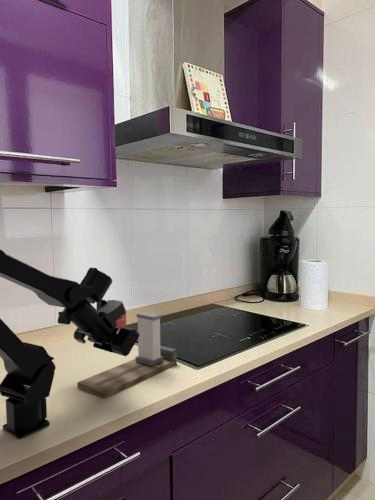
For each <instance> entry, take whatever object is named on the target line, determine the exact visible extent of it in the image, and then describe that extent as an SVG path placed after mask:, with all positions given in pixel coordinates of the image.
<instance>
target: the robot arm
mask: <svg viewBox="0 0 375 500" xmlns="http://www.w3.org/2000/svg"><path fill="white" fill-rule="evenodd" d="M0 278H2V279H5V280H7V281H9V282H11V283H14V284H15V285H19V286H21V287H23V288H25V289H28V290H29V291H31V292H33V293H34V294H35V295H36V296H37V297H38V298H39V300H41V301H43V302H44V303H45V304H47V305H49V306H51V307H52V306H53V307H60V308H63V310H62V311H58V318H57V323H58V324H60V325H70V324H73V325H74V326H76V327H77V328H76V330H75V331H74V332H73V339H74V340H75V341H76V342H78V343H80V344H84V345H85V344H86V342H87V341H89V342H91V343H93V345H92V346H93V348H96V349H99V350H102V351H105V352H109V353H113V354H117V355H120V356H123V357H127V356H129V354H130V353H131V351H132V349H133V347H134V346H135V344H136V343H137V342H138V338H139V336H140V335H139V333H138V329H136V328H133V327H129V326H126V327H122V328H121V329H119V328H115V327H116V325H117V323H116V322H115V321H117V320H118V319H119V318H120V317H121V316H123V315H125V314H126V315H127V310H125V309H126V308H125V304H124V302H123V301H122V300H117V299H108V300H105V299H103V298H104V297H105V295H106V293H107V292H108V290H109V289H110V287H111V285H112V283H113V279H112V277H111V276H110V275H107V274H106V273H105V272H103V271H100V270H98V268H97V267H89V268H88V270H87V271H86V274H85V275H84V277H83V279H82V280H81V281H80V283H79V282H77V281H74V280H71V279H66V278H63V277H58V276H52V275H50V274H48V273H45V272H43V271H42V270H40V269H37V268H35V267H34V266H32V265H29V264H28V263H26V262H24V261H21V260H19V259H18V258H16V257H13V256H11V255H10V254H7V253H6V252H4V251H3V249H1V248H0ZM95 303H96V307H95V306H94V304H95ZM92 304H93V305H92ZM123 304H124V305H123ZM86 336H87V338H86V339H87V340H86V339H85V337H86ZM0 358H1V360H2V361H3V366H4V369H5V371H6V372H7V373H6V374H5V377H3V380H2V381H1V382H0V396H1V397H6V398H5V413H6V414H5V415H6V417H5V418H6V423H5V424H3V425H2V429H4V430H5V431H6V432H7V433H10V434H11V435H13V436H14V437H16V439H22V438H24V437H26V436H29V435H30V434H33V433H35V432H36V431H39V430H41V429H43V428H45V427H48V426H49V425H50V421H49V420H48V419H47V418H48V417H47V416H48V409H47V398H49V396H50V394H51V389H52V386H53V383H54V381H53V380H54V377H55V370H56V368H57V367H56V364H55V362H54V361H53V360H55V358H54V356H51V355H50V354H49V353H48V352H47V350H46V349H45V347H44V346H42V345H38V344H33V343H30V342H25V341H22V340H21V338H20V337H19V336H18V335H17V334H16V333H15V332H14V331H13V330H12V329H11V328H10V327H9V326H8V325H7V324H6V323H5V322H4V320H2V319H1V318H0Z"/></svg>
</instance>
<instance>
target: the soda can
mask: <svg viewBox="0 0 375 500" xmlns="http://www.w3.org/2000/svg"><path fill="white" fill-rule="evenodd" d="M123 305H124V306H125V304H124V303H123ZM125 310H126V308H125ZM126 311H127V310H126ZM115 322H116V323H117V325H116V327H115V328H119V329H121V328H122V327H127V313H126V314H125V315H123V316H121V317H120V318H119V319H118V320H117V321H115Z"/></svg>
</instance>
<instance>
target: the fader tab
mask: <svg viewBox="0 0 375 500" xmlns="http://www.w3.org/2000/svg"><path fill="white" fill-rule="evenodd" d="M136 318H137V332H138V333H139V335H140V336H139V338H138V339H137V343H138V344H137V348H138V349H137V350H138V351H137V352H138V354H137V356H135V358H134V359H135V361H136V362H139V363H142V364H146V365H149V366H153V365H155V364H157V363H159V362H162V361H163V356H160V345H161V318H162V315H161V314H158V313H153V312H148V311H142V312H138V313H136Z"/></svg>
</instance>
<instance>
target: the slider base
mask: <svg viewBox="0 0 375 500" xmlns="http://www.w3.org/2000/svg"><path fill="white" fill-rule="evenodd" d="M177 355H178V354H177V349H176V348H173V347H168V346H164V345H161V344H160V356H163V361H162V362H159V363H157V364H155V365H153V366H149V365H146V364H142V363H139V362H136V361H135V358H133V359H131V360H129V361H127V362H124V363H122V364H119V365H116V366H114V367H112V368H110V369H106V370H104V371H102V372H99V373H97V374H94V375H92V376H90V377H87V378H85V379H82V380H80V381H77V388H79V389H81V390H83V391H85V392H89V393H91V394H93V395H96V396H97V397H100V398H101V399H102V398H103V399H107V398H109V397H110V396H113V395H114V394H116V393H119V392H121V391H122V390H126V389H127V388H130V387H131V386H133V385H135V384H137V383H140V382H142V381H144V380H146V379H148V378H150V377H152V376H154V375H157V374H158V373H159V374H160V373H161V372H162V371H165V370H168V369H169V368H171V367H173V366H175V365H177V364H178V361H177V359H178V357H177Z"/></svg>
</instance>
